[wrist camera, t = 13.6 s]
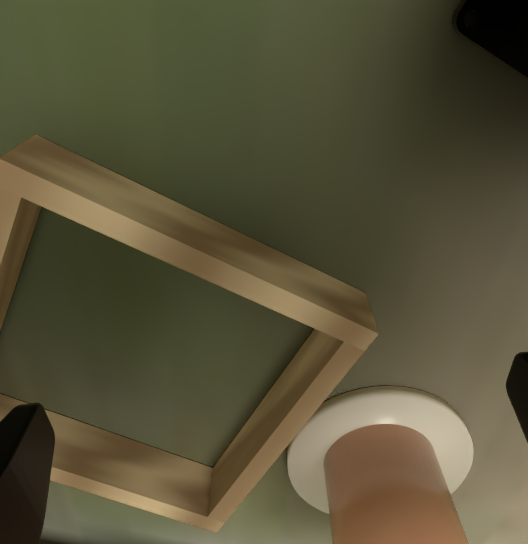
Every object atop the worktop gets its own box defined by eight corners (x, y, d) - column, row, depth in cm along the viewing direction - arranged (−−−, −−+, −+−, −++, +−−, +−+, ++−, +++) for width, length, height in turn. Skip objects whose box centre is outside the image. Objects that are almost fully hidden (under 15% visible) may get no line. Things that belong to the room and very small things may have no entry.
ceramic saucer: (507, 427, 26) (513, 439, 26) (396, 526, 31) (399, 538, 30) (350, 358, 24) (353, 369, 23) (255, 476, 28) (255, 488, 28)
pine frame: (365, 292, 22) (379, 333, 20) (220, 483, 29) (216, 532, 26) (35, 134, 19) (-2, 158, 16) (-43, 393, 25) (-78, 439, 23)
